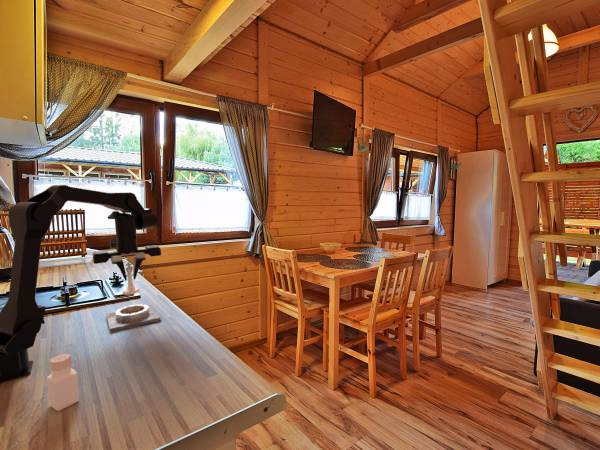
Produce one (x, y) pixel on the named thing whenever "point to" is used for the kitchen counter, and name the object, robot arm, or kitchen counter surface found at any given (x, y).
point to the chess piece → (130, 282)
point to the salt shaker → (62, 383)
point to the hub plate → (132, 317)
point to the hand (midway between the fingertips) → (130, 279)
